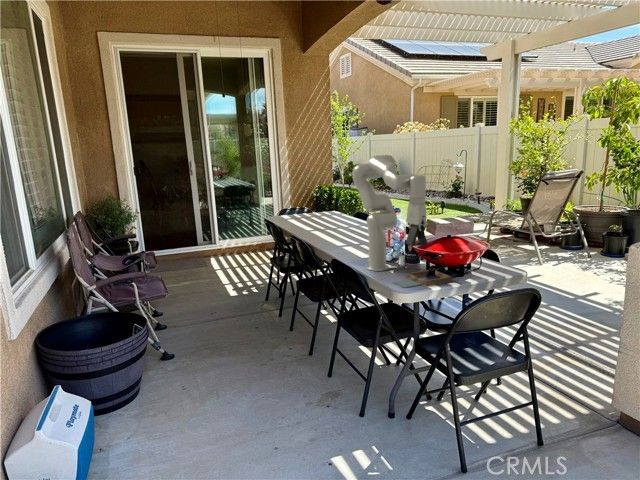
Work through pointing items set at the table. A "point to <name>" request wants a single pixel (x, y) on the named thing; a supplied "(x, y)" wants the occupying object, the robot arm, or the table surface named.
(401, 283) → the rubber mat
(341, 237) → the table surface
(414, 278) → the pocket block
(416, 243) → the door stopper
